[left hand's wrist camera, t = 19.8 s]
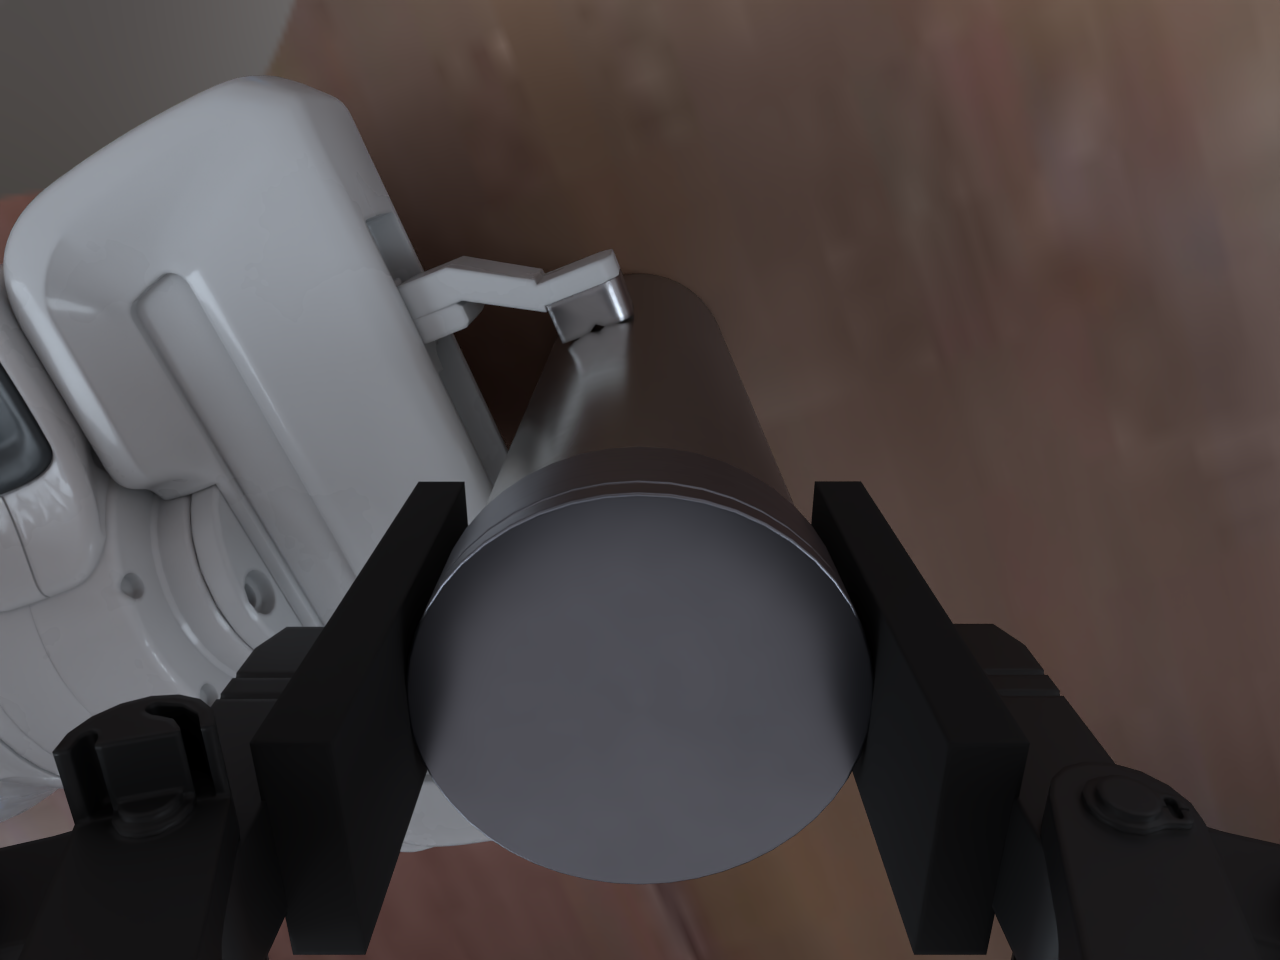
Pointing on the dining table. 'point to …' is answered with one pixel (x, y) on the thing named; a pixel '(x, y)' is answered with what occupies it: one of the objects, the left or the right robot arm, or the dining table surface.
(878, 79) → the dining table surface
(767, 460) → the jar
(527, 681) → the lid
